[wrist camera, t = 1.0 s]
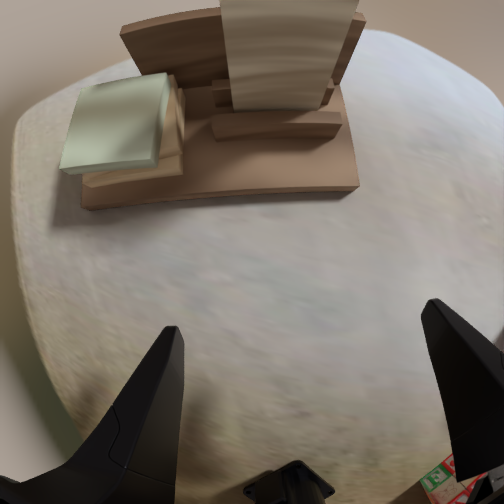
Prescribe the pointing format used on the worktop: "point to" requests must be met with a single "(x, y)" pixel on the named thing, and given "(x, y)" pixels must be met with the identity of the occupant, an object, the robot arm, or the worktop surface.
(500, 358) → the robot arm
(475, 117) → the worktop surface
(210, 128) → the offcut rack
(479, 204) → the worktop surface
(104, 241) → the worktop surface
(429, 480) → the stack of blocks
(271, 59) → the birch board
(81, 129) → the offcut stack
